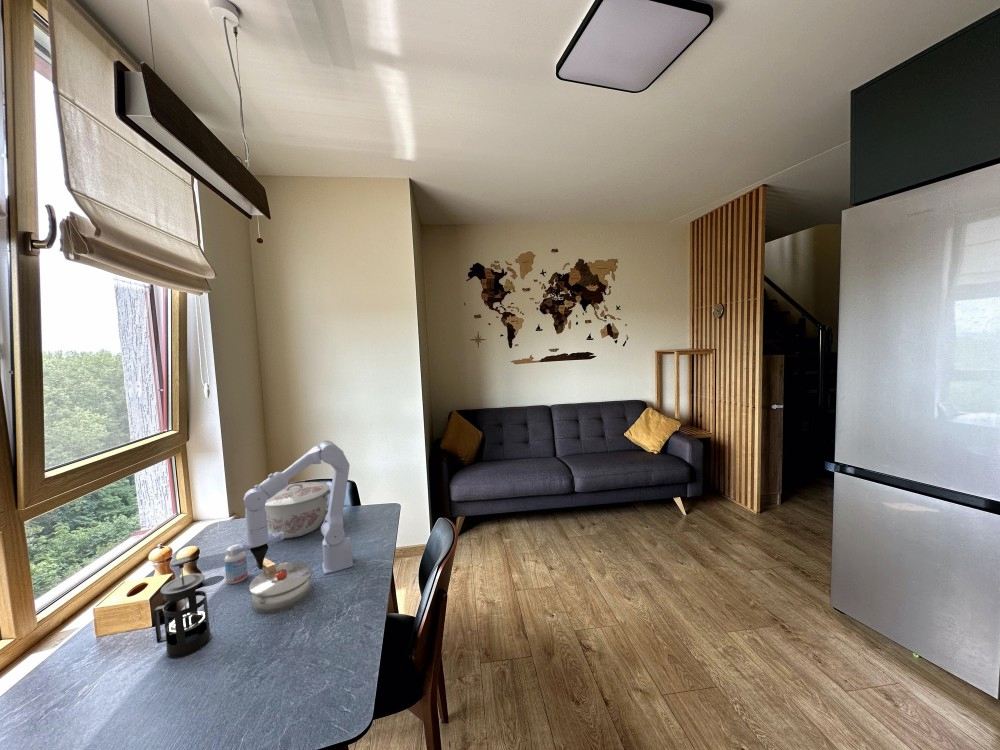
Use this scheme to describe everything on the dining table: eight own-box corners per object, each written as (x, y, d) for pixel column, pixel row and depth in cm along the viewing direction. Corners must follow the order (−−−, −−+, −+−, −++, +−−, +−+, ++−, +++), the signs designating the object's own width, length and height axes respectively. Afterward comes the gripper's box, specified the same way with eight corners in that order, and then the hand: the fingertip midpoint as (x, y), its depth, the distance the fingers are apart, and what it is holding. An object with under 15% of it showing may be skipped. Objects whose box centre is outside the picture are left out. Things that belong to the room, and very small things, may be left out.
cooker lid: (322, 574, 124) (322, 565, 123) (265, 604, 110) (264, 594, 110) (287, 555, 137) (286, 547, 136) (231, 580, 123) (231, 571, 123)
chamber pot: (245, 541, 161) (240, 492, 160) (302, 514, 186) (298, 471, 185) (294, 551, 150) (289, 499, 149) (347, 521, 176) (343, 476, 174)
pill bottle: (237, 585, 129) (234, 552, 129) (222, 583, 131) (218, 551, 130) (252, 574, 135) (249, 543, 135) (237, 573, 137) (234, 542, 136)
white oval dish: (309, 567, 138) (308, 553, 138) (312, 601, 119) (311, 585, 118) (256, 581, 131) (255, 567, 131) (250, 621, 111) (249, 604, 111)
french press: (219, 627, 109) (211, 547, 108) (207, 650, 100) (198, 564, 99) (167, 639, 105) (158, 557, 104) (150, 665, 96) (140, 575, 95)
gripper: (278, 516, 133) (281, 554, 133) (226, 531, 122) (230, 573, 123) (284, 521, 128) (288, 562, 129) (232, 538, 117) (236, 581, 118)
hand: (260, 568), depth 126 cm, fingers closed
